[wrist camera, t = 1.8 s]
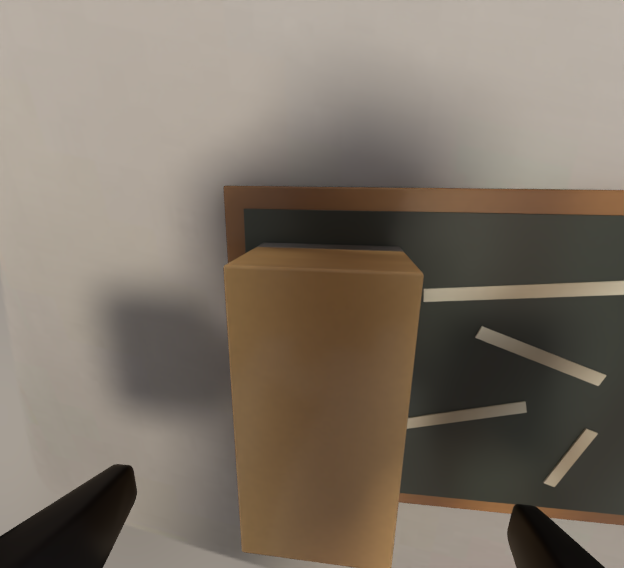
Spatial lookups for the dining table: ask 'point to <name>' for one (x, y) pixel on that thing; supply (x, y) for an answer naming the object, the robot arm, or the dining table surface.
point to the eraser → (321, 396)
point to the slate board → (490, 333)
